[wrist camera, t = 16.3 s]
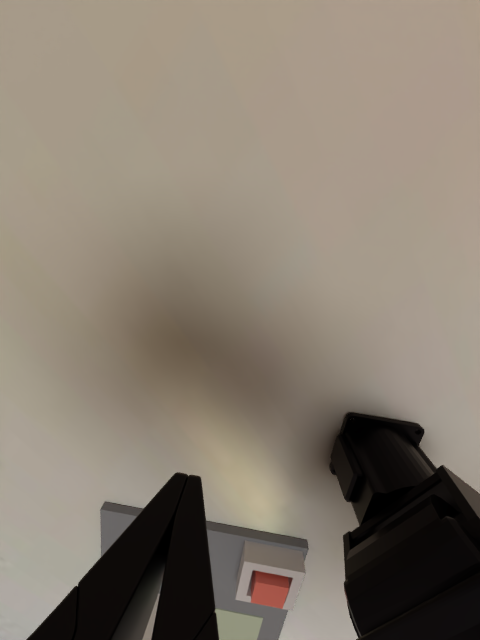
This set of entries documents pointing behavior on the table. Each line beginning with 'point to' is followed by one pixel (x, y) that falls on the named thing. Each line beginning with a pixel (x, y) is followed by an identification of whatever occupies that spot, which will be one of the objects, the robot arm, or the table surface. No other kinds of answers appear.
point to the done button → (269, 589)
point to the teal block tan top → (151, 622)
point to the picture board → (234, 571)
